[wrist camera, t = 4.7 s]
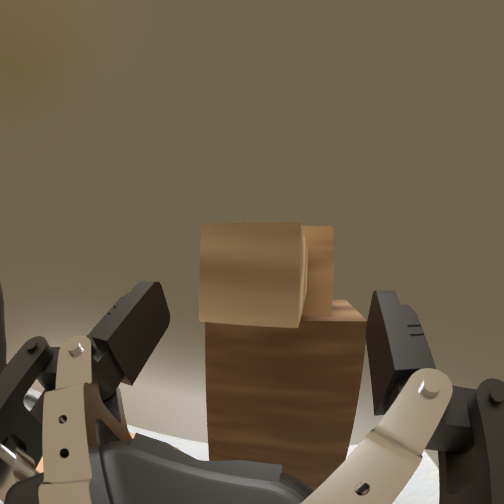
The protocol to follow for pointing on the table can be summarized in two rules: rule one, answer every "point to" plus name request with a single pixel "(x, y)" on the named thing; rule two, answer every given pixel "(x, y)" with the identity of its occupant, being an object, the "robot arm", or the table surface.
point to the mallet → (265, 273)
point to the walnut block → (285, 391)
